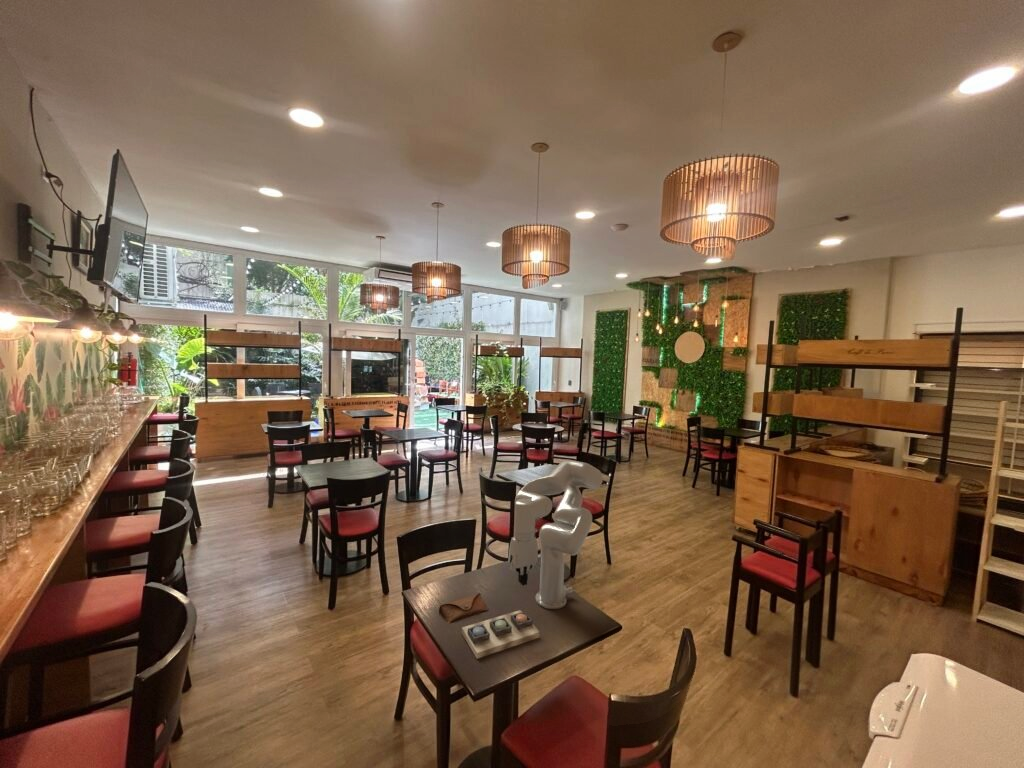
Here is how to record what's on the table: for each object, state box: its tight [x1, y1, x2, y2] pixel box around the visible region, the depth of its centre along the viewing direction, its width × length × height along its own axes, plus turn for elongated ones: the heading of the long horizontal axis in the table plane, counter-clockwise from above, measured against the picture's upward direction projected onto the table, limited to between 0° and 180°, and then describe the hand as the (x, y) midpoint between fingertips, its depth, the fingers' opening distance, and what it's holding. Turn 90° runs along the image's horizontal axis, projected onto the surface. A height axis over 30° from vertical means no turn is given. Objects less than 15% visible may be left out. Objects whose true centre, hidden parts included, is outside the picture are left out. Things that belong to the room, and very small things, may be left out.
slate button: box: [473, 627, 484, 637], centre depth 143 cm, size 4×4×2 cm
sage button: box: [495, 620, 506, 630], centre depth 147 cm, size 4×4×2 cm
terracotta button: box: [516, 614, 527, 623], centre depth 151 cm, size 4×4×2 cm
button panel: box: [461, 609, 541, 659], centre depth 147 cm, size 24×14×4 cm, turn 118°
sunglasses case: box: [438, 593, 489, 625], centre depth 160 cm, size 18×7×7 cm, turn 123°
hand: (522, 583), depth 150 cm, fingers closed
